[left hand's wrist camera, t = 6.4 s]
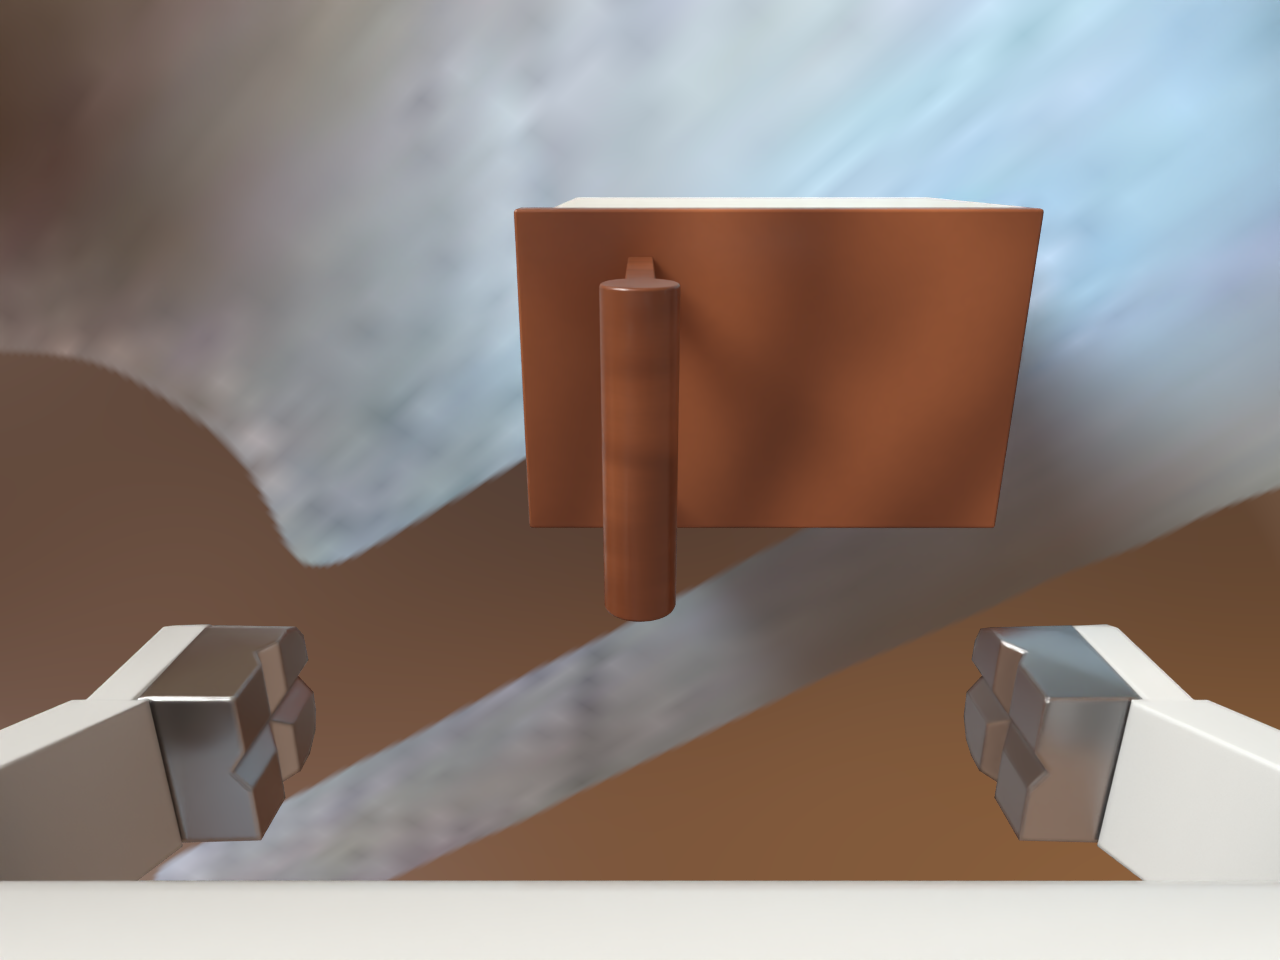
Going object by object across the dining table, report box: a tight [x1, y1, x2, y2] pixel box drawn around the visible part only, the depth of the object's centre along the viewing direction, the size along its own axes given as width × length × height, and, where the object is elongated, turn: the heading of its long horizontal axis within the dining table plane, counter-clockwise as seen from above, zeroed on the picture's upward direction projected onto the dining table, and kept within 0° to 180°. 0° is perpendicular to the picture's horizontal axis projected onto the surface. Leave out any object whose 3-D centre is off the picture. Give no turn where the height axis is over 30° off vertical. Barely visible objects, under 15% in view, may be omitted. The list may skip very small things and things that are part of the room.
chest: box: [554, 197, 1020, 208], centre depth 30 cm, size 14×10×9 cm
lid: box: [514, 207, 1044, 622], centre depth 22 cm, size 15×10×9 cm, turn 90°
